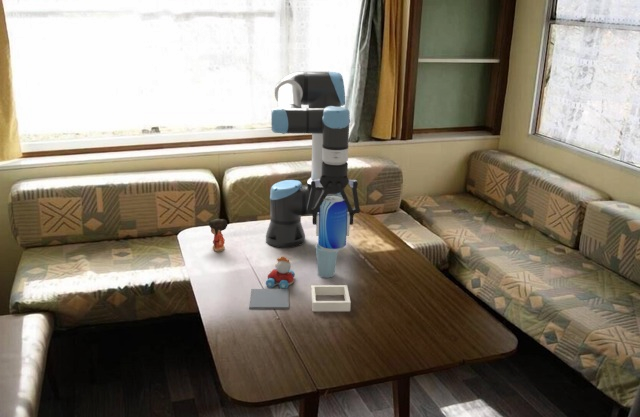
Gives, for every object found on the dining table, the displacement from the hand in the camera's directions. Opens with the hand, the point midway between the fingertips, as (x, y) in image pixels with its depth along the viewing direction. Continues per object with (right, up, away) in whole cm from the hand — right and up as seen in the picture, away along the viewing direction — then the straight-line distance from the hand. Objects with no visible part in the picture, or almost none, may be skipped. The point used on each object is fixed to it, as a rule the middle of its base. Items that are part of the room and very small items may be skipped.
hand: (332, 234), depth 186 cm
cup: (-2, -15, +26) cm, 31 cm away
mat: (-20, -21, +8) cm, 30 cm away
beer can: (0, -4, +1) cm, 5 cm away
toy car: (-17, -17, +20) cm, 31 cm away
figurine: (-42, -7, +45) cm, 62 cm away
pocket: (-1, -22, +8) cm, 23 cm away
